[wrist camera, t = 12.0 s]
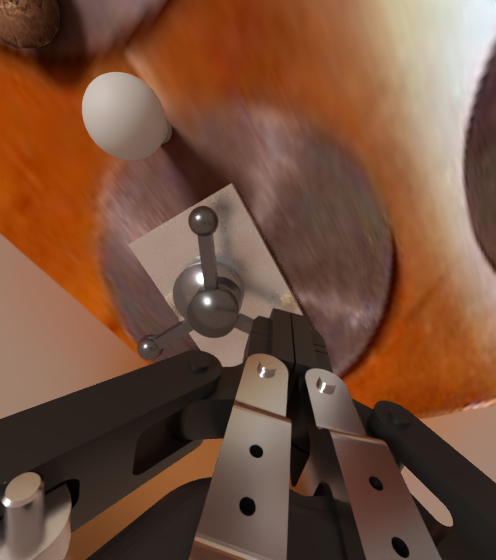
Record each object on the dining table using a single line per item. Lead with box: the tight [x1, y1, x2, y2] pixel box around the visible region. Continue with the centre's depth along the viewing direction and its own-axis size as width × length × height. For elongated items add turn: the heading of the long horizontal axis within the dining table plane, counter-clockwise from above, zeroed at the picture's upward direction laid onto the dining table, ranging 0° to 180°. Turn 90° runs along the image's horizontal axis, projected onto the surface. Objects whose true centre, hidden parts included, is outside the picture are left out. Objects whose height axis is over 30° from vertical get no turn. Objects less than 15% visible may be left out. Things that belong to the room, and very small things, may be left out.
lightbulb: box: [82, 72, 172, 161], centre depth 25 cm, size 6×6×11 cm
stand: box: [128, 183, 312, 367], centre depth 35 cm, size 20×14×2 cm
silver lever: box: [137, 206, 254, 360], centre depth 31 cm, size 18×16×6 cm
